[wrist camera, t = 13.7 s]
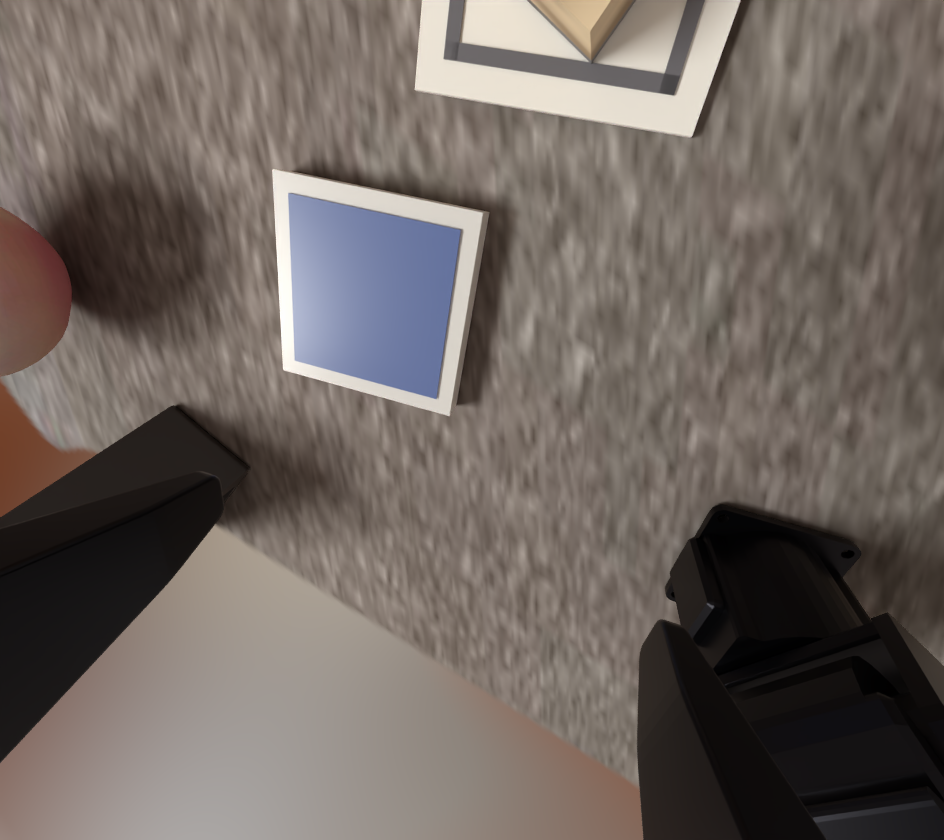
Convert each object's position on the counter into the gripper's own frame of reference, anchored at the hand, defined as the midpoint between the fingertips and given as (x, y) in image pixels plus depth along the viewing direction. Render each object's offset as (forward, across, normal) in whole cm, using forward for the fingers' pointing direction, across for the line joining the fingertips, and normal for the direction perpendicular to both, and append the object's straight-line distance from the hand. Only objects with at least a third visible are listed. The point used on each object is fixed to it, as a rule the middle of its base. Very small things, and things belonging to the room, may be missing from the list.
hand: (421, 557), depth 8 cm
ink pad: (+13, +7, -1) cm, 15 cm away
